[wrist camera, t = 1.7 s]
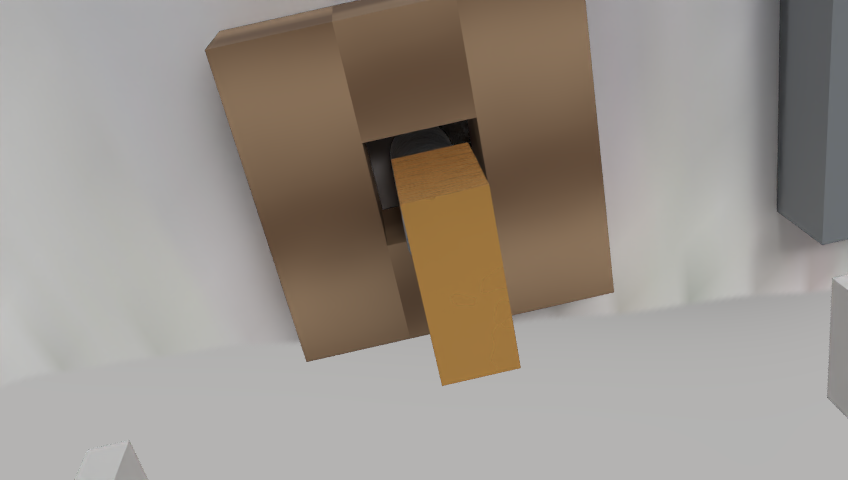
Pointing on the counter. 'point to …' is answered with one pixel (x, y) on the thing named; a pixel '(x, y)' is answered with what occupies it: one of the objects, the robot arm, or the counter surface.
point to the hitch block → (407, 112)
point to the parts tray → (814, 117)
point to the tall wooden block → (455, 254)
